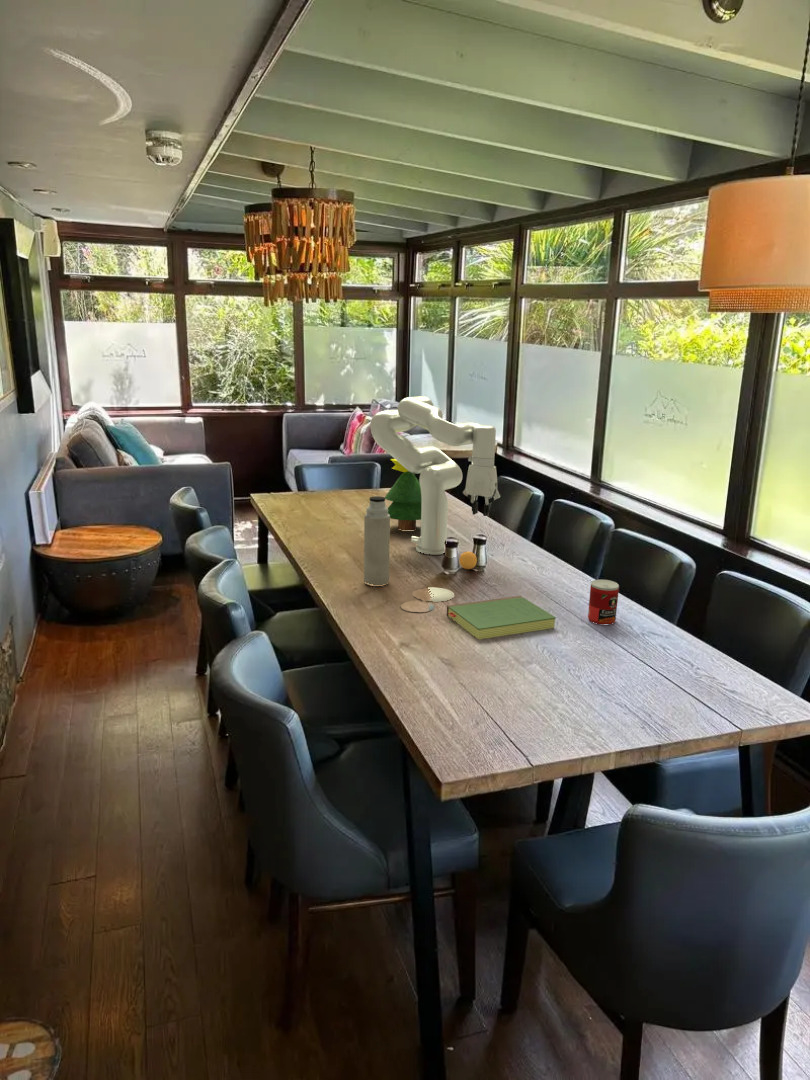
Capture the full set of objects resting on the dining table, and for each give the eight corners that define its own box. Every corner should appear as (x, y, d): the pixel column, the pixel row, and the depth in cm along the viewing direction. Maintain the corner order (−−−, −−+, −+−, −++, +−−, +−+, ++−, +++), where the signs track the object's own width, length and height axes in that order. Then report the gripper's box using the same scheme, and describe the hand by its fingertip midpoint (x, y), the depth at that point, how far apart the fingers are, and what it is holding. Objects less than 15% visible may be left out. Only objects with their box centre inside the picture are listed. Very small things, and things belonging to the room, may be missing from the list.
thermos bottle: (376, 577, 253) (377, 493, 246) (393, 583, 248) (395, 497, 241) (358, 582, 248) (359, 497, 240) (376, 588, 243) (377, 501, 235)
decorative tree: (440, 531, 311) (442, 457, 303) (400, 538, 301) (402, 461, 293) (412, 521, 326) (414, 450, 318) (373, 527, 316) (374, 453, 308)
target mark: (404, 597, 235) (404, 596, 235) (423, 585, 247) (423, 584, 247) (443, 604, 230) (443, 604, 230) (460, 592, 241) (461, 591, 241)
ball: (456, 569, 263) (456, 552, 262) (462, 565, 268) (463, 548, 267) (472, 572, 261) (473, 555, 259) (479, 567, 266) (479, 551, 264)
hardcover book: (519, 607, 231) (520, 595, 230) (555, 630, 214) (556, 617, 213) (444, 618, 221) (444, 605, 220) (475, 642, 205) (476, 629, 204)
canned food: (600, 627, 216) (604, 589, 213) (581, 617, 222) (584, 581, 220) (621, 623, 219) (625, 586, 216) (602, 613, 226) (605, 577, 223)
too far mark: (394, 609, 226) (394, 608, 226) (409, 598, 234) (409, 598, 234) (425, 615, 221) (425, 614, 221) (439, 604, 230) (439, 604, 230)
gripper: (456, 461, 264) (454, 513, 268) (502, 466, 256) (499, 520, 261) (464, 458, 270) (462, 509, 275) (509, 462, 263) (506, 515, 268)
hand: (480, 514), depth 268 cm, fingers open, 3 cm apart
